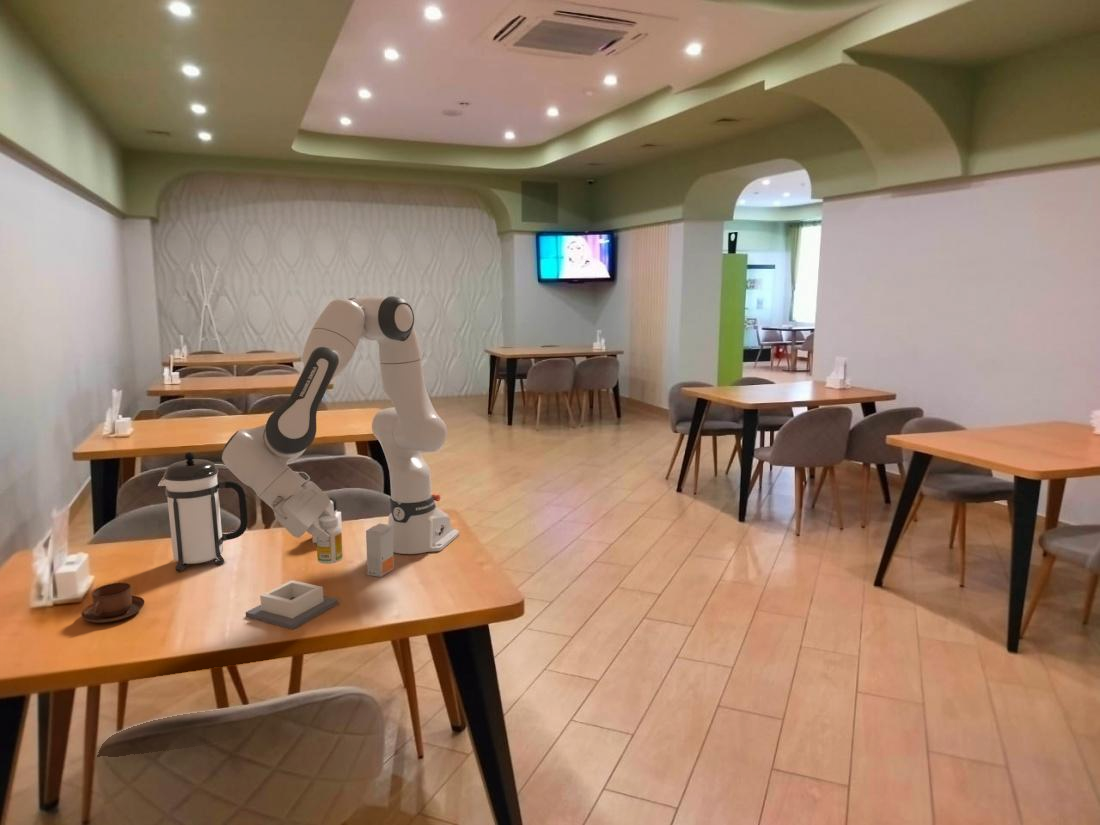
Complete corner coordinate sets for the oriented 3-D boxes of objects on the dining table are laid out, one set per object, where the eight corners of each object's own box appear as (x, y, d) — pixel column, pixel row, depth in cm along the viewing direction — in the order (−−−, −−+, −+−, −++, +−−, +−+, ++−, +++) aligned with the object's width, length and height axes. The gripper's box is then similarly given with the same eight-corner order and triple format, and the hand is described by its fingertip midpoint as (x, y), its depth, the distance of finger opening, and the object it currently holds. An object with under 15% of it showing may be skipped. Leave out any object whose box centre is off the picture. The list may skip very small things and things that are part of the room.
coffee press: (201, 576, 180) (191, 461, 175) (154, 568, 185) (142, 456, 180) (251, 552, 196) (243, 446, 191) (207, 545, 201) (197, 442, 196)
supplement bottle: (338, 553, 163) (336, 513, 162) (345, 561, 159) (344, 519, 157) (314, 558, 160) (312, 517, 159) (321, 566, 156) (319, 523, 154)
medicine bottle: (317, 535, 210) (315, 495, 208) (342, 534, 211) (340, 495, 209) (312, 543, 203) (309, 503, 201) (337, 542, 204) (335, 502, 202)
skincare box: (381, 577, 179) (379, 532, 177) (367, 575, 180) (365, 530, 178) (394, 568, 184) (393, 524, 182) (380, 566, 186) (378, 522, 184)
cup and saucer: (137, 623, 155) (134, 597, 154) (74, 631, 152) (71, 604, 151) (151, 600, 166) (148, 575, 165) (92, 607, 163) (89, 582, 162)
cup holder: (293, 592, 170) (292, 574, 169) (338, 603, 164) (337, 585, 163) (245, 616, 158) (244, 597, 157) (292, 629, 152) (291, 609, 151)
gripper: (279, 494, 146) (329, 539, 148) (307, 470, 166) (351, 510, 168) (258, 515, 146) (308, 560, 148) (289, 489, 167) (333, 528, 169)
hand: (331, 533), depth 158 cm, fingers closed on supplement bottle, 5 cm apart
